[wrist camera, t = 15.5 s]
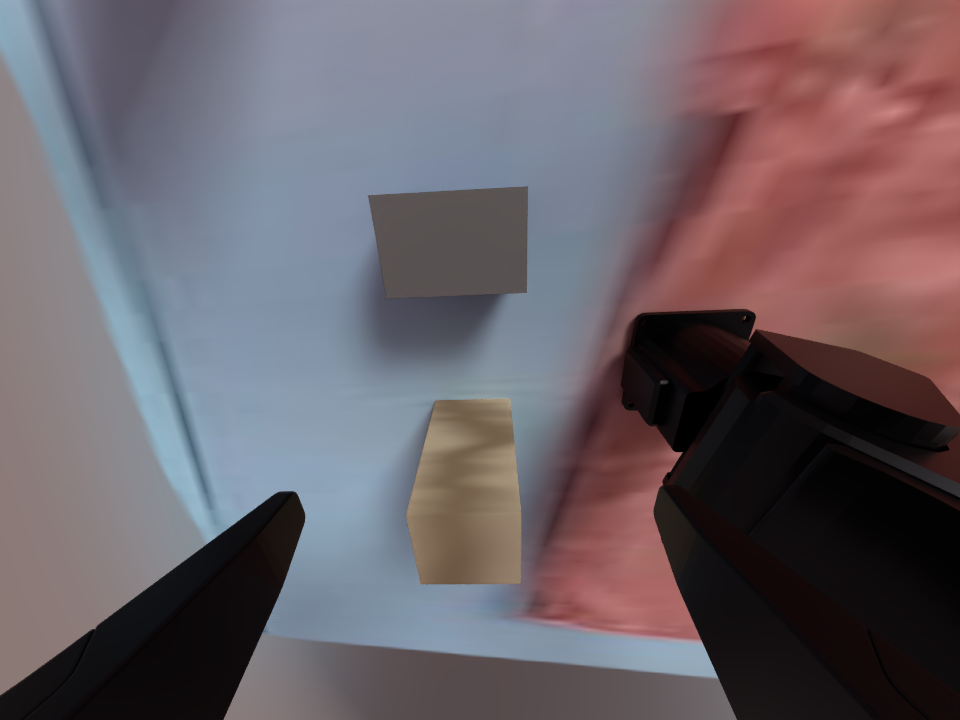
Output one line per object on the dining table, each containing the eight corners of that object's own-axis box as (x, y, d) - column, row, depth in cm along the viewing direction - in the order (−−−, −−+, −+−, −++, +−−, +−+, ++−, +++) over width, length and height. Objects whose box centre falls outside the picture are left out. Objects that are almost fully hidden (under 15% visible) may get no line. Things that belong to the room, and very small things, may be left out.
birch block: (510, 398, 22) (521, 514, 14) (510, 456, 25) (521, 583, 17) (435, 400, 23) (405, 515, 15) (442, 457, 25) (420, 584, 17)
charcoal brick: (517, 187, 17) (527, 186, 12) (517, 268, 19) (526, 292, 14) (399, 194, 17) (368, 195, 13) (410, 273, 19) (386, 298, 15)
